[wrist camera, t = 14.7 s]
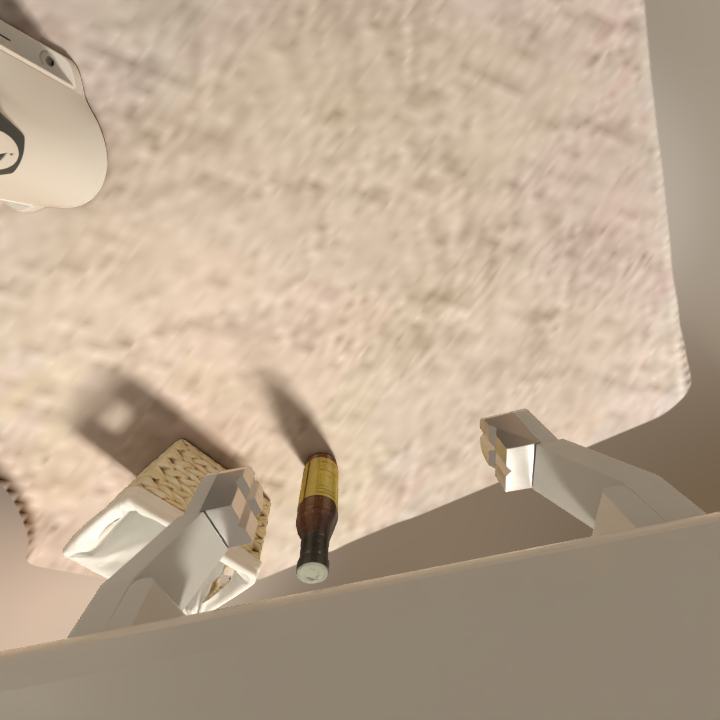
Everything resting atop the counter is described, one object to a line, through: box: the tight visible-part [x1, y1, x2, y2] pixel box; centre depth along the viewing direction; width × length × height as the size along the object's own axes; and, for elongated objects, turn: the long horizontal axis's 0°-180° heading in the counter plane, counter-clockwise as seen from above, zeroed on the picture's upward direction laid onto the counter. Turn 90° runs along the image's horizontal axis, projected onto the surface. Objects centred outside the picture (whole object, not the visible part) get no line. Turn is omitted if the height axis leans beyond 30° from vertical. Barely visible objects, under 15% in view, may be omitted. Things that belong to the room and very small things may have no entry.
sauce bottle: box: [296, 453, 338, 583], centre depth 46 cm, size 7×6×20 cm
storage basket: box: [63, 439, 271, 615], centre depth 50 cm, size 24×16×15 cm
